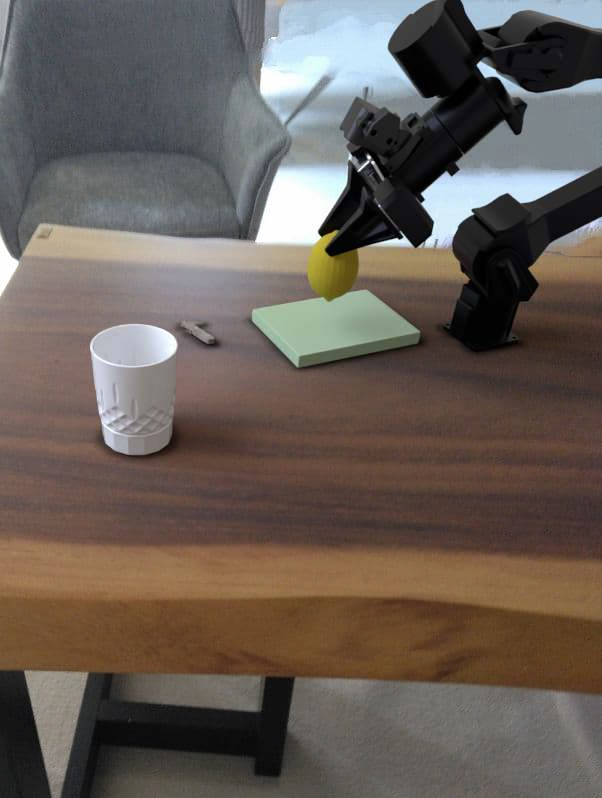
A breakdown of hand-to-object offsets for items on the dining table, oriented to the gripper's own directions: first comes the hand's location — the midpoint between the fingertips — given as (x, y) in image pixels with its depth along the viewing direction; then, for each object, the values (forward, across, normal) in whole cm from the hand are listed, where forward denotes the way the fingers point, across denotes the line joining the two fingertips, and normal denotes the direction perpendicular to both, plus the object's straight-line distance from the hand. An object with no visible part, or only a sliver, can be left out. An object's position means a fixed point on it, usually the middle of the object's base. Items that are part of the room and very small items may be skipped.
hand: (323, 244), depth 86 cm
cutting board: (+6, -2, +10) cm, 12 cm away
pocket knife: (+17, -1, -1) cm, 17 cm away
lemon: (+4, 0, +6) cm, 7 cm away
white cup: (+22, +20, -6) cm, 30 cm away
